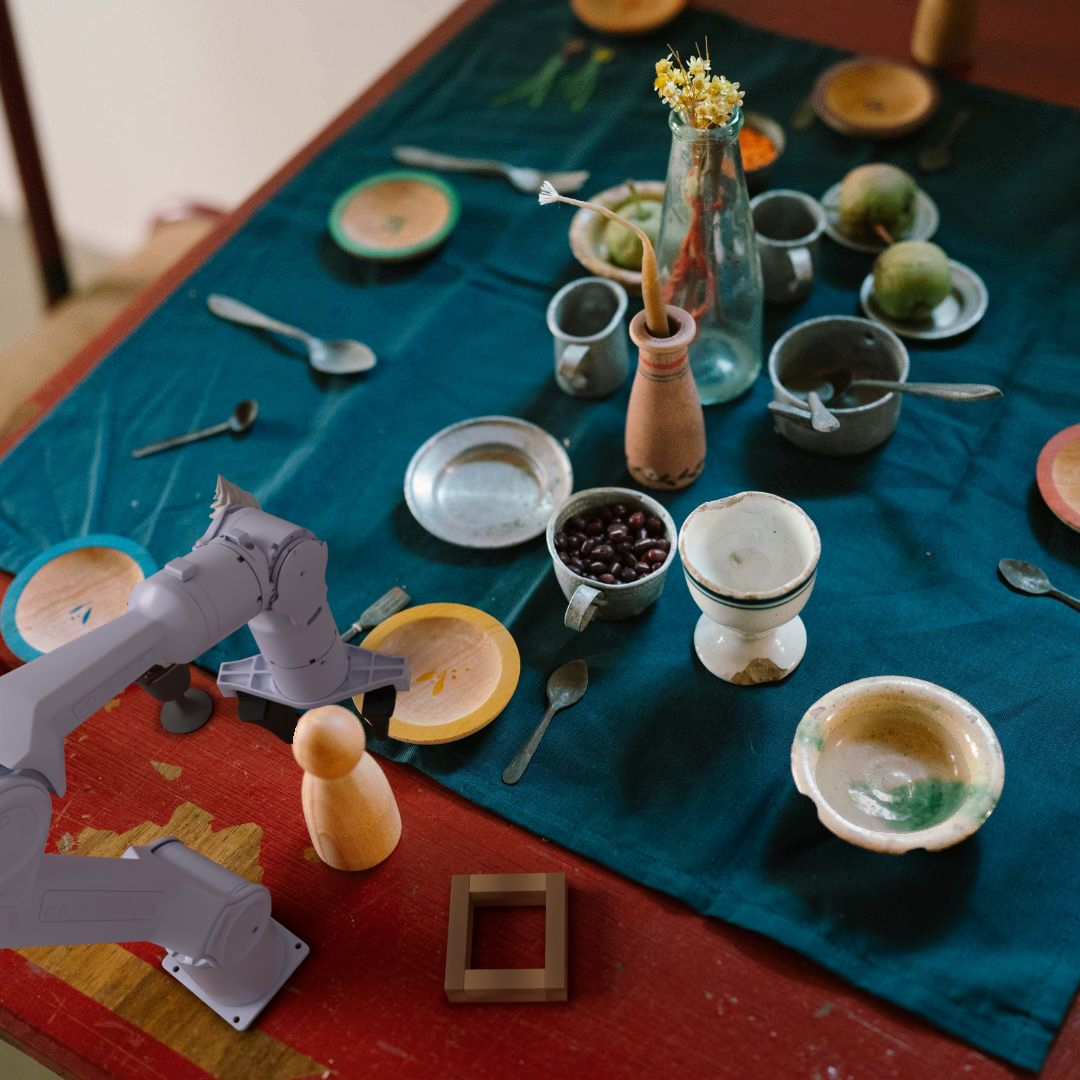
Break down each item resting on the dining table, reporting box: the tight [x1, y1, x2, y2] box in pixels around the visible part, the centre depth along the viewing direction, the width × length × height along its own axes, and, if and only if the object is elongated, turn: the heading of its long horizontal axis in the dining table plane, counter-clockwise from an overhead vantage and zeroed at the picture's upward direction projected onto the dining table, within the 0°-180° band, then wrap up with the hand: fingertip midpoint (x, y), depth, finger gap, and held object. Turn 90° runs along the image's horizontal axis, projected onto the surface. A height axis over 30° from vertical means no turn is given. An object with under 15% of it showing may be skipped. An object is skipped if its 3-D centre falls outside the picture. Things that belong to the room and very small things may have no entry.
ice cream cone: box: [208, 473, 263, 520], centre depth 115 cm, size 5×5×15 cm
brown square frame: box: [443, 872, 568, 1003], centre depth 92 cm, size 9×9×3 cm
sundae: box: [126, 602, 213, 735], centre depth 105 cm, size 7×7×15 cm
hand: (338, 732), depth 95 cm, fingers open, 7 cm apart
